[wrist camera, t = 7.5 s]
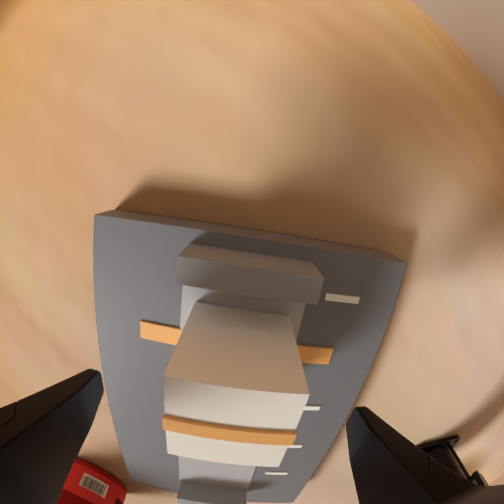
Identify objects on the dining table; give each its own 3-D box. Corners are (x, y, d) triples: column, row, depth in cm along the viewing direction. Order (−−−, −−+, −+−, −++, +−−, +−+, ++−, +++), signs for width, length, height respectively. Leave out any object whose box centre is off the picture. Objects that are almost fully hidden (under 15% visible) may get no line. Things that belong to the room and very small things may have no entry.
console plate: (388, 252, 13) (429, 277, 10) (291, 485, 19) (294, 519, 15) (114, 209, 13) (69, 221, 9) (136, 464, 18) (125, 497, 14)
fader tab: (290, 315, 12) (312, 398, 7) (272, 385, 13) (280, 470, 8) (193, 301, 12) (160, 378, 7) (188, 374, 13) (165, 456, 8)
